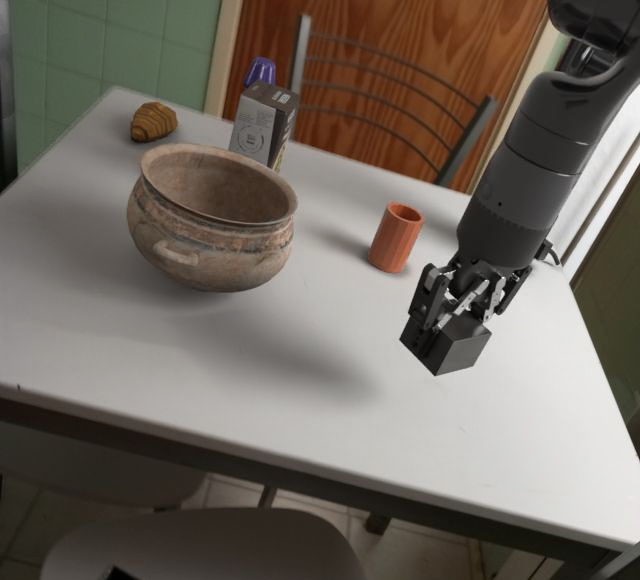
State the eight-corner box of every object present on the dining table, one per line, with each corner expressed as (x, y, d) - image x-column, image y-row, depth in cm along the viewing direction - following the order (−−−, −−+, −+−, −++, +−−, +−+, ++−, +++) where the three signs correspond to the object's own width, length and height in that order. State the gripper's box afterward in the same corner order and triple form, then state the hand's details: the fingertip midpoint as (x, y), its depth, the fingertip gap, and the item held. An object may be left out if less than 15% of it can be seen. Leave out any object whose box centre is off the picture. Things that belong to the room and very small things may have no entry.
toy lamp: (223, 162, 107) (248, 50, 97) (252, 169, 109) (280, 59, 98) (223, 175, 104) (249, 60, 93) (253, 183, 105) (282, 70, 95)
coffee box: (256, 227, 95) (287, 112, 85) (212, 211, 95) (238, 92, 85) (272, 203, 102) (302, 94, 92) (231, 187, 102) (257, 76, 91)
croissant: (155, 155, 102) (160, 122, 99) (113, 137, 102) (116, 103, 99) (190, 130, 112) (195, 99, 109) (152, 114, 112) (156, 83, 109)
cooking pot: (178, 209, 92) (194, 119, 84) (305, 266, 92) (333, 181, 84) (71, 286, 73) (79, 179, 65) (229, 360, 73) (257, 261, 65)
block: (437, 331, 75) (454, 298, 72) (473, 366, 72) (492, 333, 69) (398, 339, 72) (414, 304, 69) (434, 376, 69) (453, 342, 66)
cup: (387, 250, 103) (407, 201, 98) (410, 271, 100) (432, 222, 95) (359, 252, 99) (379, 202, 94) (382, 274, 97) (404, 224, 92)
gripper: (492, 230, 55) (412, 385, 66) (591, 222, 63) (505, 360, 74) (433, 182, 58) (366, 336, 69) (534, 180, 67) (460, 318, 78)
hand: (438, 348), depth 71 cm, fingers closed on block, 6 cm apart
